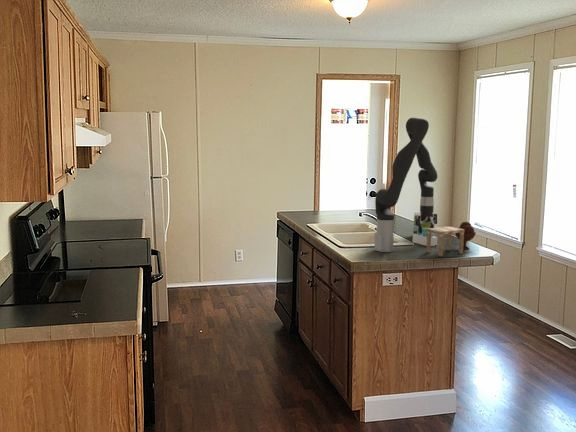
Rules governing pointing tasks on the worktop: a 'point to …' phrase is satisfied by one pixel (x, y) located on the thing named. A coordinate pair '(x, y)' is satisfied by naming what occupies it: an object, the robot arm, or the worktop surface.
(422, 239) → the white and teal block
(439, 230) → the beige wooden stool
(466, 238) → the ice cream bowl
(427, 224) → the tea box
